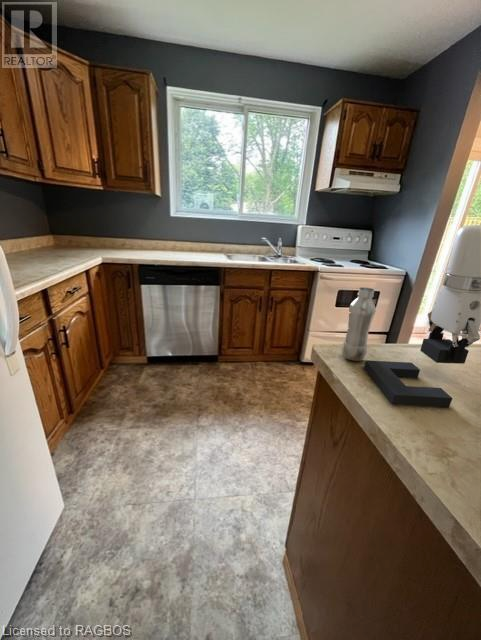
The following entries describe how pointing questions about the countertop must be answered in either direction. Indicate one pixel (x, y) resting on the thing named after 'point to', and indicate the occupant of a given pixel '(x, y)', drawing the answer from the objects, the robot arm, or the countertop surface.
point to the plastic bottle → (359, 325)
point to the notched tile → (397, 391)
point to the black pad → (440, 350)
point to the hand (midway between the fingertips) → (442, 353)
